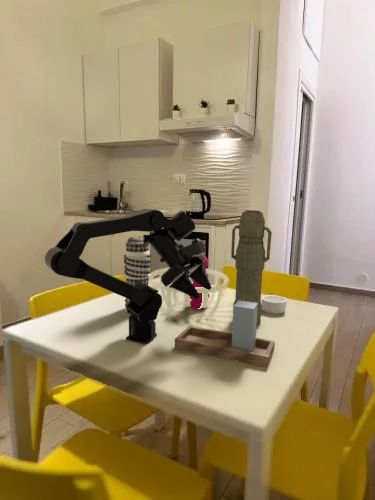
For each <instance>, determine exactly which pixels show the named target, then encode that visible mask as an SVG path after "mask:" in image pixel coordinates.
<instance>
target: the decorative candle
mask: <svg viewBox="0 0 375 500" xmlns="http://www.w3.org/2000/svg"><path fill="white" fill-rule="evenodd" d="M142 245H143V236H139V235H137V236H135V235H134V236H130V237H128V238H127V240H126V241H125V253H124V254H123V263H124V268H123V269H124V271H123V273H124V278H126V281H125V282H126V283H128V284H132V285H136V282H137V281H139V282H141V283H143V284H145V285H148V286H150V283H149V282H150V281H149V278H150V277H151V274H150V273H151V271H150V270H149V268H151V267H152V265H150V264H151V263H152V261H151V260H150V259H149V258H151V257H152V255H151V254H150V250H149V249H150V244H148V245H147V246H145V247H142ZM129 302H130V300H129V299H127V298H125V299H124V303H125V304H124V306H125V308H124V310H125V312H127V310H126V306H127V304H128V303H129Z"/></svg>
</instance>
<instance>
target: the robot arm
mask: <svg viewBox="0 0 375 500" xmlns="http://www.w3.org/2000/svg"><path fill="white" fill-rule="evenodd" d="M195 230H196V225H195V222H194V221H193V220H192V218H191V217H190V216H189V215H187V213H186V211H185V210H184V211H183V210H180V211H178V212H177V213H175V214H174V216H172V217H171V218H168V217H165V215H164V213H163V212H162V211H161V210H160V209H153V208H142V209H139V210H136V211H133V212H131V213H130V214H128V215H127V214H126V216H125V215H124V216H118V217H112V218H110V217H109V218H104V219H98V220H91V221H85V222H84V221H83V222H82V221H79V222H75V223H74V224H73V225H72V227H71V228H70V229H69V231H68V232H67V233H66V234H64V236H63V237H62V238H61V239H60V240H59V241H58V242H57V243H56V244H55V246H54V247H51V248H50V249H49V250H48V251H47V252H46V253H45V256H44V262H45V265H46V266H47V267H48V268H49V269H50V270H51V271H53V273H55V274H57V275H59V276H63V277H66V278H72V279H78V280H79V279H80V280H83V281H86V282H89V283H91V284H93V285H96V286H97V287H100V288H103V289H104V290H107V291H109V292H111V293H113V294H116V295H119V296H120V297H122V298H125V299H126V298H127V299H129V300H130V302H129V303H128V304H127V306H126V307H125V308H126V310H127V311H126V313H127V314H129V316H128V335H127V336H126V337H125V340H126V341H131V342H136V343H142V344H148V343H149V342H150V341H152V340H153V339H154V338H155V337H157V335H158V334H157V333H156V328H157V327H156V326H157V325H156V321H155V320H157V317H158V314H159V312H160V309H161V307H162V305H163V297H162V295H161V294H160V293H159V290H158V289H156V288H154V287H153V286H150V285H149V286H148V285H145V284H143V283H141V282H139V281H137V282H136V285H132V284H128V283H126V281H125V280H123V279H119V278H117V277H115V276H114V275H112V274H109V273H107V272H104V271H102V270H100V269H99V268H95V267H93V266H92V265H89V264H88V263H87V262H85V261H84V260H83V259H81V258H80V257H81V256H82V254H83V252H84V250H85V248H86V246H87V243H88V242H89V241H90V239H94V238H100V237H105V236H110V235H111V236H113V235H116V234H123V233H128V232H147V233H148V232H151V233H149V234H143V236H142V237H143V245H142V247H145V246H147V245H148V244H149V245H151V247H152V248H153V249H154V250H155V252H156V253H157V254H158V255H159V257H160V259H159V261H160V263H165V264H166V265H167V266H168V268H169V269H167V270H166V271H165V272H164V273H163V274H162V275H161V277H160V282H161V283H162V284H163V286H165V288H166V287H169V289H174V290H177V291H179V292H181V293H183V294H185V295H188V297H189V296H191V297H194V298H196V299H198V298H200V295H199V293H198V292H197V290H196V289H195V287H194V286H193V282H192V281H191V280H190V279H192V280H194V281H196V282H197V283H199V284H200V285H201V286H203V287H204V288H206V289H208V290H209V291H210V290H211V289H212V284H211V283H210V281H209V278H208V277H207V274H206V273H205V271H204V267H205V262H204V261H205V260H206V259H205V258H204V257H203V256H204V255H199V254H201V253H203V254H204V252H206V251H207V250H206V248H205V247H206V243H205V242H204V241H203V240H202V239H200V238H198V237H197V238H195V239H193V240H191V244H189V245H186V246H184V245H183V244H181V243H180V244H179V243H177V242H176V241H178V242H180V241H181V240H183V239H185V238H186V237H187V236H189V235H190V234H191V233H192V232H194V231H195ZM175 240H176V241H175Z"/></svg>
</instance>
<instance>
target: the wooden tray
mask: <svg viewBox="0 0 375 500" xmlns="http://www.w3.org/2000/svg"><path fill="white" fill-rule="evenodd" d="M275 345H276V340H272V339H267V338H261V337H256V343H255V349H254V351H253V352H249V351H244V350H239V349H234V348H232V332H227V331H222V330H218V329H216V330H215V329H211V328H205V327H200V326H199V327H198V326H193V325H188V326H187V327H186V328H185V329H183V330H182V332H180V333H179V335H178V336H176V337H175V338H174V349H179V350H183V351H188V352H192V353H198V354H202V355H203V354H204V355H207V356H213V357H217V358H222V359H227V360H231V361H232V360H233V361H236V362H242V363H247V364H251V365H256V366H260V367H265V368H268V367H269V365H270V363H271V360H272V357H273V354H274V352H275V347H276V346H275Z"/></svg>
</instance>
